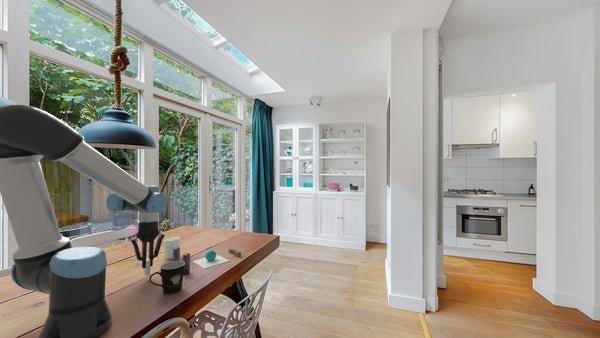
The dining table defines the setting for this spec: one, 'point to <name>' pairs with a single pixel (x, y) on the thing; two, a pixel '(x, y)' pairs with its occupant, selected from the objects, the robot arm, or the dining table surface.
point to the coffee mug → (171, 276)
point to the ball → (210, 255)
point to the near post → (186, 263)
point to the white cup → (171, 246)
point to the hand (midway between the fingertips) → (147, 274)
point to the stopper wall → (234, 252)
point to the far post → (176, 254)
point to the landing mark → (210, 262)
